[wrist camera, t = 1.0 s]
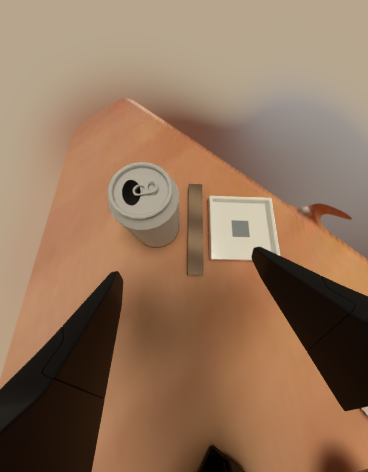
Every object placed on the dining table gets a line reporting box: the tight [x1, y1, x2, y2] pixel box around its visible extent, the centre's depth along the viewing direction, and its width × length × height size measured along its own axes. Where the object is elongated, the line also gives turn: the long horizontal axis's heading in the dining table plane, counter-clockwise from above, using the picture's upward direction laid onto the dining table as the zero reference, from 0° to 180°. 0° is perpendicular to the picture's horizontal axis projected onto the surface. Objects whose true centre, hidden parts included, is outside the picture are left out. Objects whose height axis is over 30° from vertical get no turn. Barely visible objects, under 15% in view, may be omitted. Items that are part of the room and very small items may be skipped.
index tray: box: [208, 196, 280, 261], centre depth 25 cm, size 11×11×2 cm
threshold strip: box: [187, 184, 203, 275], centre depth 25 cm, size 16×2×1 cm, turn 179°
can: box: [108, 162, 179, 247], centre depth 20 cm, size 8×8×12 cm
